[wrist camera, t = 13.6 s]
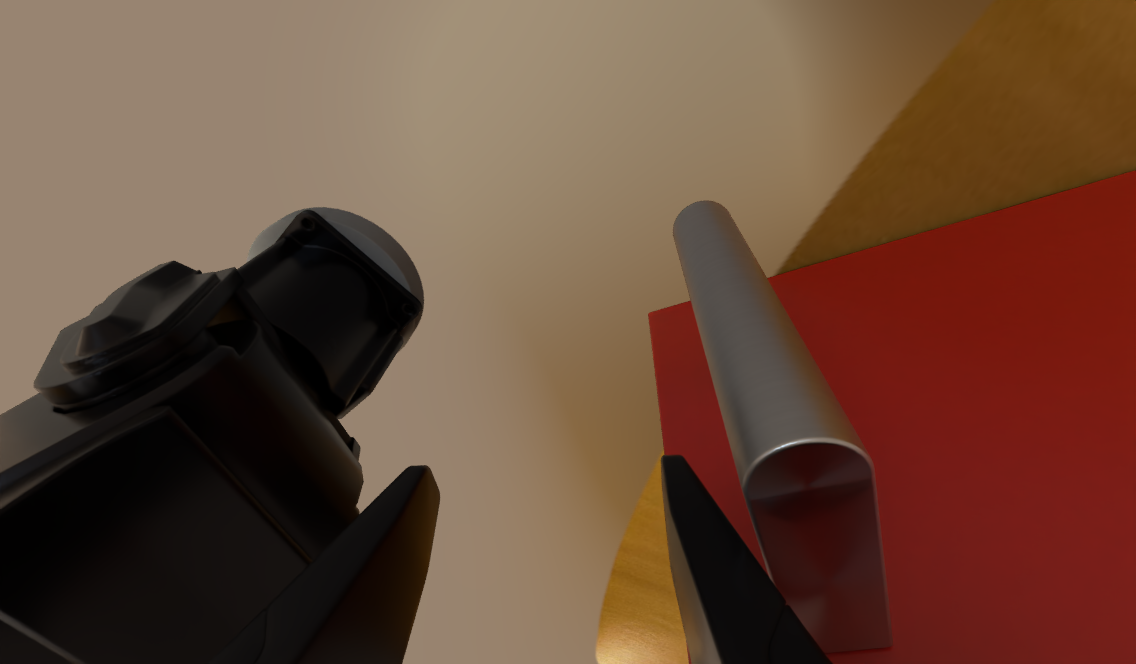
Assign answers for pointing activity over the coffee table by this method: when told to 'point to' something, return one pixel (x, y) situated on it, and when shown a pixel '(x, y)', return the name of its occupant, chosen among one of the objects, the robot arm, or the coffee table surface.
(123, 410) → the robot arm
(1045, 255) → the cupboard door
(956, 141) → the coffee table surface
